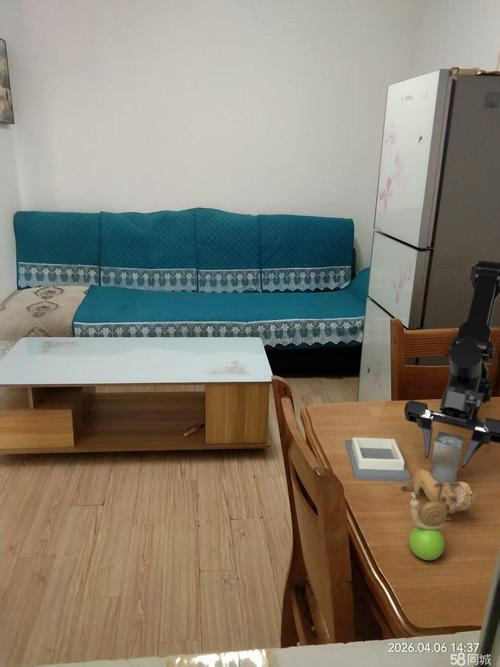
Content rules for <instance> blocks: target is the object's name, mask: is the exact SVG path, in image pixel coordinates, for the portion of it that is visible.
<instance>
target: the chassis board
mask: <svg viewBox="0 0 500 667" xmlns="http://www.w3.org/2000/svg"><path fill="white" fill-rule="evenodd" d="M344 444H345V447H346V451H347V453H348V454H347V455H348V457H349V461H350V462H349V463H350V465H351V469H352V473H353V477H354V480H356V481H380V482H381V481H383V482H384V481H385V482H411V480H412V477H411V475H410V472H409V469H408V468H407V465H406V463H405V460H404V458H403V455H402V454H401V450H400V449H399V447H398V444H397V442H396V440H395V438H377V437H373V438H371V437H352V439H345V443H344Z"/></svg>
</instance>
